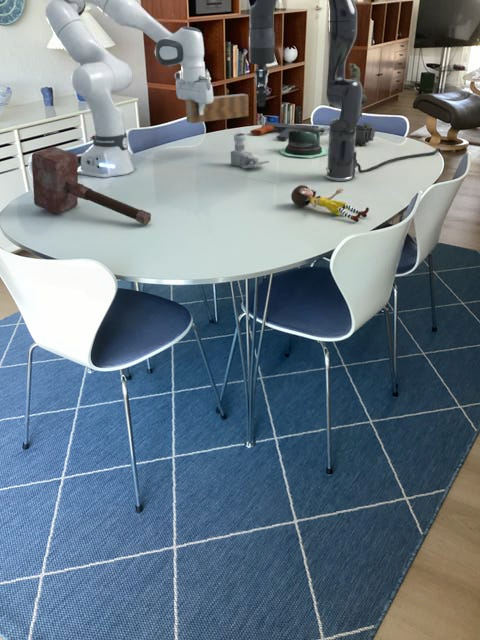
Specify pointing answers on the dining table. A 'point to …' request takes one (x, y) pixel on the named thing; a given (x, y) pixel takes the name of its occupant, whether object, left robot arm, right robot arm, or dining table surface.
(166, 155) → the dining table surface
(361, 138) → the toy
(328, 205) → the figurine
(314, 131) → the dark green hat
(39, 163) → the sledgehammer
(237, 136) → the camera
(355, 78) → the statue
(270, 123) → the submachine gun
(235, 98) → the bar
